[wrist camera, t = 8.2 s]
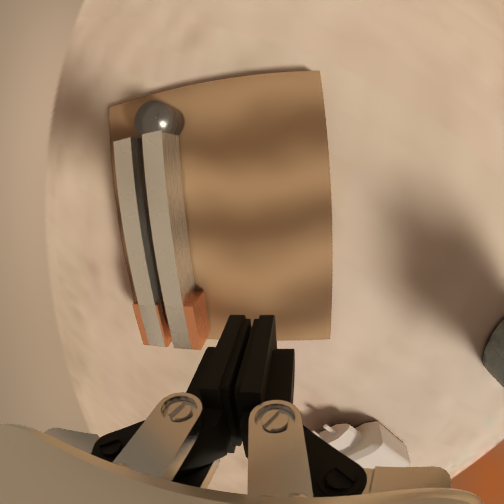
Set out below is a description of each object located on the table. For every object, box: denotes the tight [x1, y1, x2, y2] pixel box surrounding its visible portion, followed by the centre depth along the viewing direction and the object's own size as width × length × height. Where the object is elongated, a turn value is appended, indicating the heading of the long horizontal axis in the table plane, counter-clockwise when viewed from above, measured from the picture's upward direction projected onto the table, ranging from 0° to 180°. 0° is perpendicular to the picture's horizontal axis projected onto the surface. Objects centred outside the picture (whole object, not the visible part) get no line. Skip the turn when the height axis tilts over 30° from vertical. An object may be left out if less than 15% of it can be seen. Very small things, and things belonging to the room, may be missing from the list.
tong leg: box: [134, 100, 210, 350], centre depth 21 cm, size 19×3×3 cm, turn 4°
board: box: [109, 71, 332, 341], centre depth 23 cm, size 22×18×1 cm
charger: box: [312, 421, 410, 469], centre depth 27 cm, size 5×9×15 cm
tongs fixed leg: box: [113, 137, 172, 347], centre depth 22 cm, size 17×2×3 cm, turn 5°
